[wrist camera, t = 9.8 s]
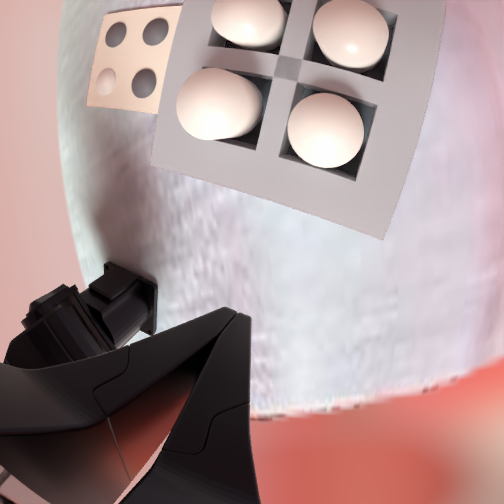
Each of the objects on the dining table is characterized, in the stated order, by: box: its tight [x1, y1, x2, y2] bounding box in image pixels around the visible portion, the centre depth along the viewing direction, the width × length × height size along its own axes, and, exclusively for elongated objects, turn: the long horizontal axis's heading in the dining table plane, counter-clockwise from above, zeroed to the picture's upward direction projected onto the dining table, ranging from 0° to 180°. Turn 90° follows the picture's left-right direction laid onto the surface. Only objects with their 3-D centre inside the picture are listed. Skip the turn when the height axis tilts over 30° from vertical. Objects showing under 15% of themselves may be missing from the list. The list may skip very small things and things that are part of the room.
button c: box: [313, 0, 389, 73], centre depth 13 cm, size 4×4×3 cm
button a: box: [288, 93, 364, 168], centre depth 16 cm, size 4×4×3 cm
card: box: [86, 6, 182, 114], centre depth 19 cm, size 9×9×1 cm
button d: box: [211, 0, 289, 52], centre depth 14 cm, size 4×4×3 cm
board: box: [150, 0, 446, 240], centre depth 16 cm, size 16×16×2 cm
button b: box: [176, 68, 263, 140], centre depth 16 cm, size 4×4×3 cm
